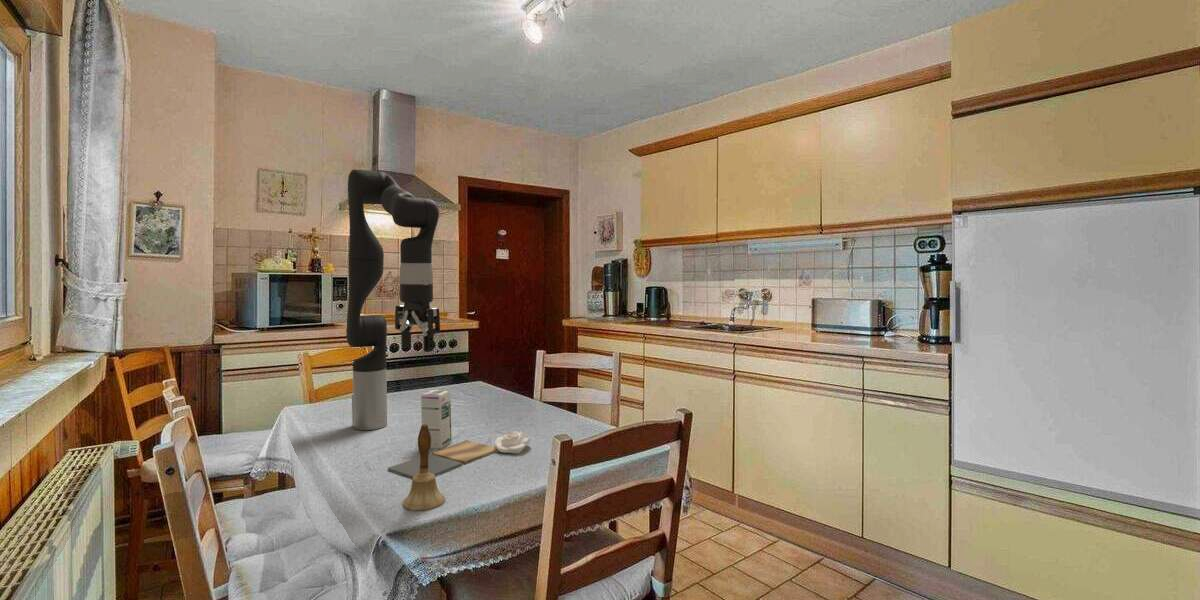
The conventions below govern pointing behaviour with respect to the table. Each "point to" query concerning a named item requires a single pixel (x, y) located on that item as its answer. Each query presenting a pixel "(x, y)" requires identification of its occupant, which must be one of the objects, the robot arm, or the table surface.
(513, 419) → the table surface
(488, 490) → the table surface
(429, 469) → the dark slate pad
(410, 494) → the hand bell
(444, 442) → the syrup box
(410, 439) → the table surface
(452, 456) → the honey oak pad
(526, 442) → the rose
